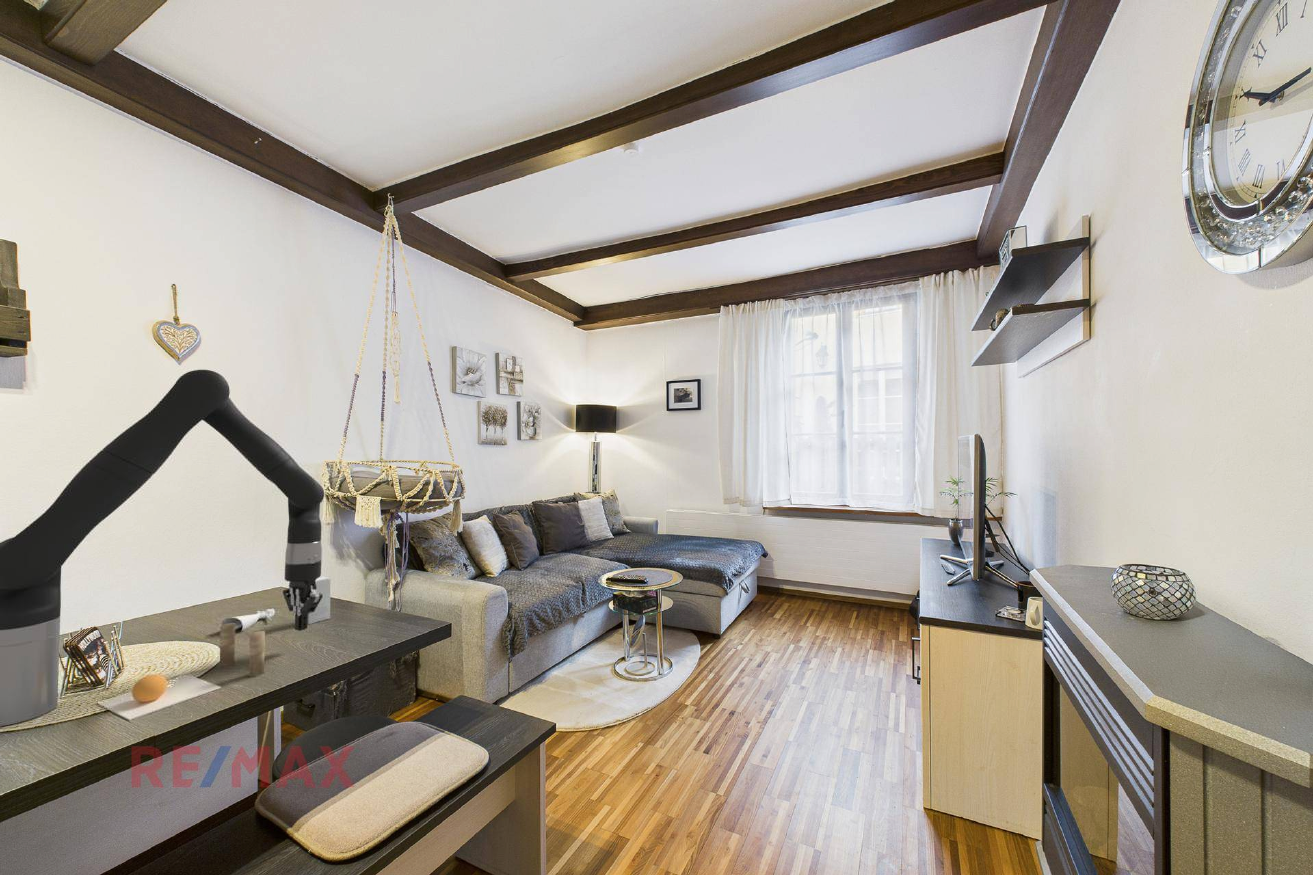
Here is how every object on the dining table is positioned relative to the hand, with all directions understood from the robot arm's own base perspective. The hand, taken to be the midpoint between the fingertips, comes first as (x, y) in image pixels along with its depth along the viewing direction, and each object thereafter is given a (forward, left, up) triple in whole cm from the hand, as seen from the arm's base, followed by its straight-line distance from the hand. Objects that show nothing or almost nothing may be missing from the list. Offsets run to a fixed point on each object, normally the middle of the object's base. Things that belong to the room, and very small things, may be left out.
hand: (301, 629), depth 127 cm
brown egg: (-29, -1, -2) cm, 29 cm away
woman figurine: (+4, +32, -6) cm, 32 cm away
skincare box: (+14, +18, -5) cm, 24 cm away
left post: (-13, +6, -5) cm, 15 cm away
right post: (-13, -6, -5) cm, 15 cm away
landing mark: (-27, 0, -5) cm, 27 cm away
